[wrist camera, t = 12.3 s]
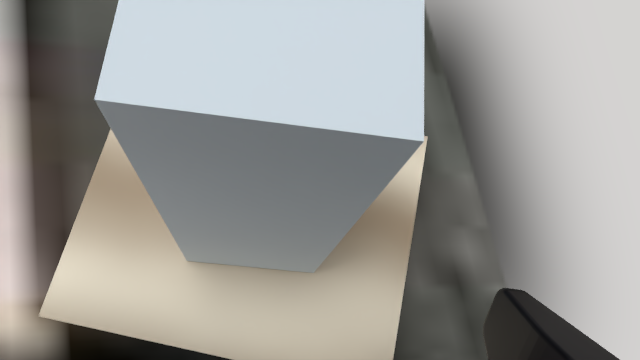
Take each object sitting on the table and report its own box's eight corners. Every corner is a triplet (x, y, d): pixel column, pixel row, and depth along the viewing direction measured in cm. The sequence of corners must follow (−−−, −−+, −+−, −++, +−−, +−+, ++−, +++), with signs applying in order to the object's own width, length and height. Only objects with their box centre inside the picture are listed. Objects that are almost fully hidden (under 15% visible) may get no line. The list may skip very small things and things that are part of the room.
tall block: (313, 273, 18) (423, 141, 7) (186, 261, 18) (94, 98, 7) (322, 157, 20) (424, -99, 9) (205, 143, 19) (155, -148, 8)
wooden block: (361, 385, 21) (387, 394, 18) (74, 321, 21) (38, 316, 17) (398, 168, 25) (427, 136, 21) (153, 104, 24) (137, 59, 20)
